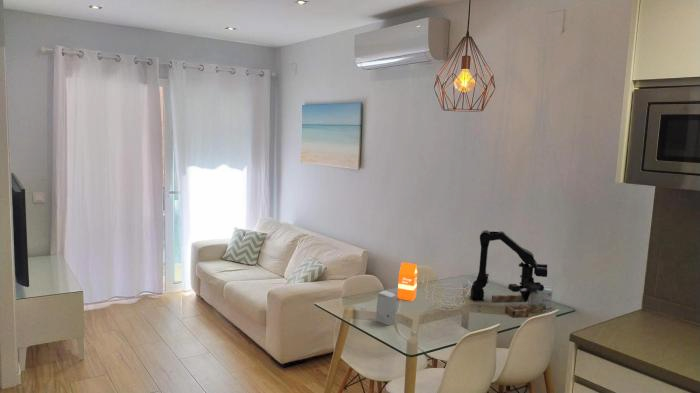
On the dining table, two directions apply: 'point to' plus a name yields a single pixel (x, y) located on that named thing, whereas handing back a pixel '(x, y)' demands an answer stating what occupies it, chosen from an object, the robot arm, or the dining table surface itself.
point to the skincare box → (386, 307)
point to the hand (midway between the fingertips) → (525, 302)
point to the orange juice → (407, 281)
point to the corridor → (523, 309)
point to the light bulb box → (541, 297)
